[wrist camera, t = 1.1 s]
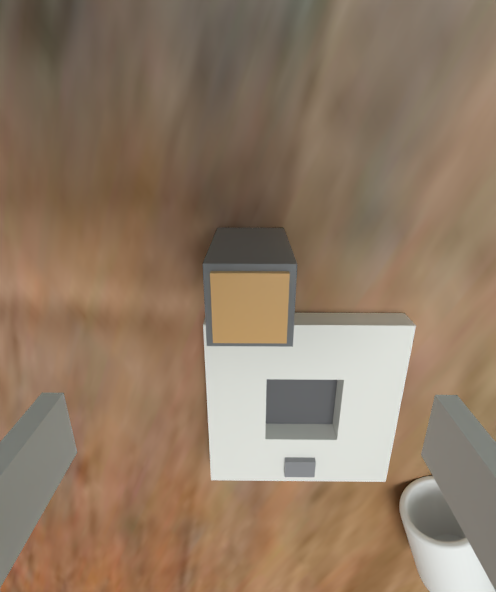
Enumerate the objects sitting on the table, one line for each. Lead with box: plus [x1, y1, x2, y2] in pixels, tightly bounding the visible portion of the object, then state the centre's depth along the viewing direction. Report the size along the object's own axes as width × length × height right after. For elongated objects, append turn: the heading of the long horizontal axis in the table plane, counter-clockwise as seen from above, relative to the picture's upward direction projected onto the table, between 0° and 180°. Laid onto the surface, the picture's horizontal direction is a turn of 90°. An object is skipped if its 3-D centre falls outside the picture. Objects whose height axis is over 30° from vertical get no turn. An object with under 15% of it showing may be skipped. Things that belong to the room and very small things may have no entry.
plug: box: [203, 228, 297, 347], centre depth 27 cm, size 6×6×10 cm
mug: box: [399, 476, 496, 592], centre depth 39 cm, size 12×10×8 cm
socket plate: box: [203, 313, 416, 482], centre depth 36 cm, size 18×18×3 cm
